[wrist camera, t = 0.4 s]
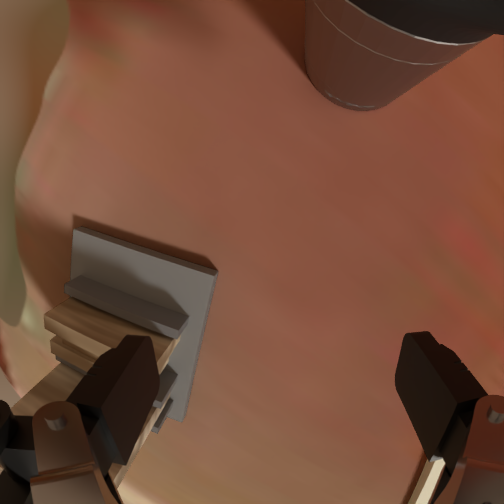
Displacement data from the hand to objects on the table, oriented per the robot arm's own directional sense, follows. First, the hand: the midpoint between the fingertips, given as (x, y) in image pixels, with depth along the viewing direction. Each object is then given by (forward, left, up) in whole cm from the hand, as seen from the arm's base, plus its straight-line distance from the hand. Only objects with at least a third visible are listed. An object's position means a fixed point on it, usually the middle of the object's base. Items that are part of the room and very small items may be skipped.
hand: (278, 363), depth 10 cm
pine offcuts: (+14, -14, -19) cm, 27 cm away
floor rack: (+15, -14, -20) cm, 29 cm away
